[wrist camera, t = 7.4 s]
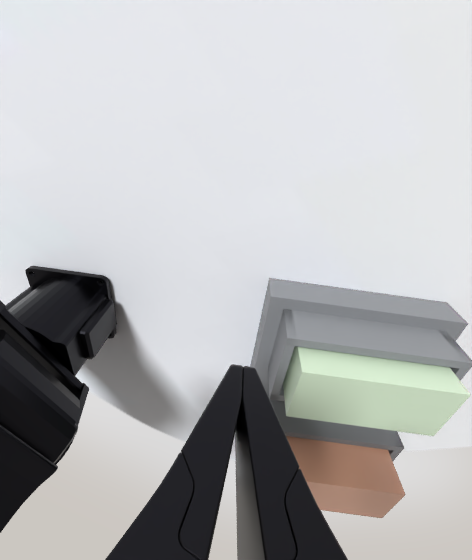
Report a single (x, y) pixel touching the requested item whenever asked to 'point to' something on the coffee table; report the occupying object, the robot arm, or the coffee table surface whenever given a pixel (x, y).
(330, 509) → the orange brown block
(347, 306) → the button panel
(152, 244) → the coffee table surface
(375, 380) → the sage button
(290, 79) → the coffee table surface
